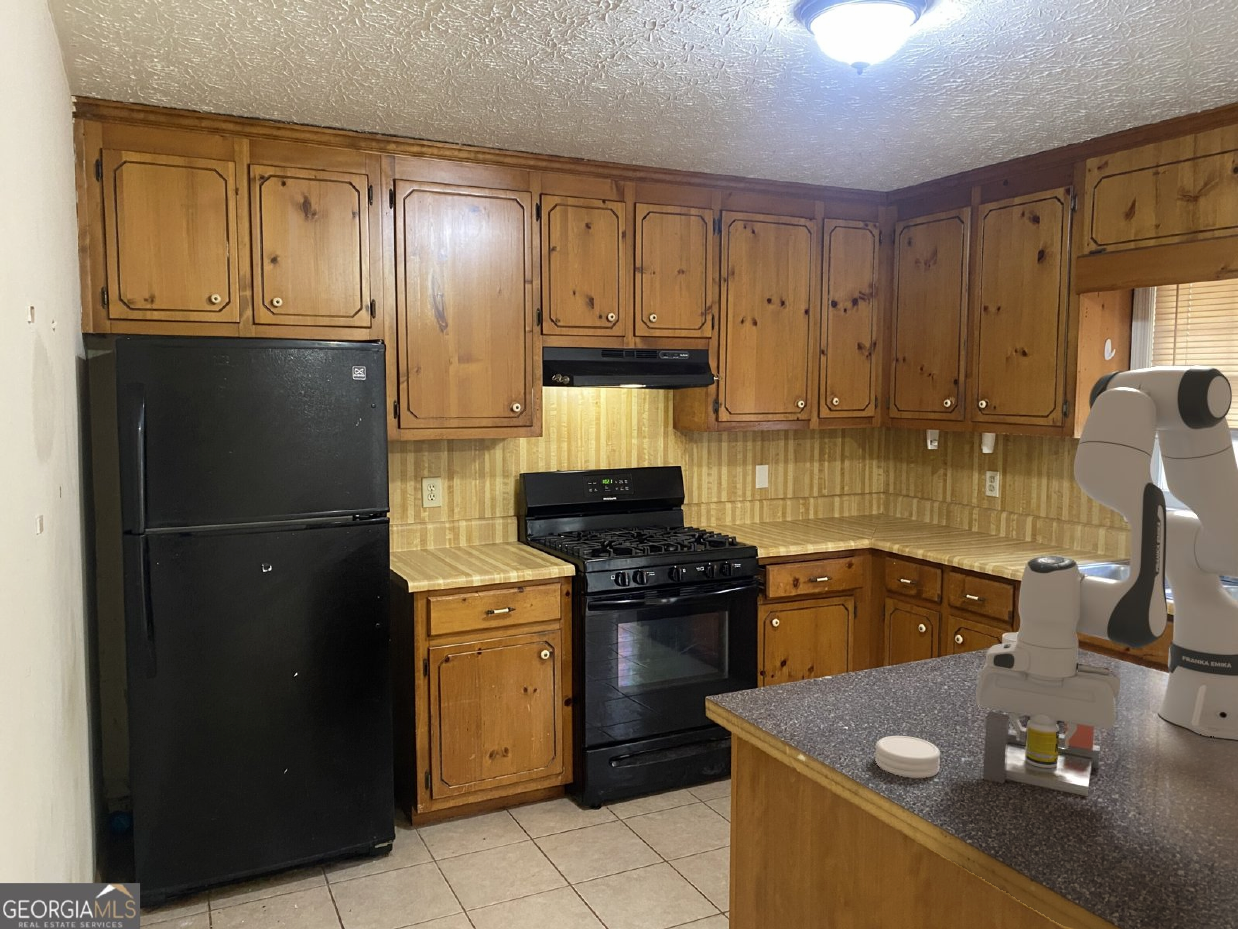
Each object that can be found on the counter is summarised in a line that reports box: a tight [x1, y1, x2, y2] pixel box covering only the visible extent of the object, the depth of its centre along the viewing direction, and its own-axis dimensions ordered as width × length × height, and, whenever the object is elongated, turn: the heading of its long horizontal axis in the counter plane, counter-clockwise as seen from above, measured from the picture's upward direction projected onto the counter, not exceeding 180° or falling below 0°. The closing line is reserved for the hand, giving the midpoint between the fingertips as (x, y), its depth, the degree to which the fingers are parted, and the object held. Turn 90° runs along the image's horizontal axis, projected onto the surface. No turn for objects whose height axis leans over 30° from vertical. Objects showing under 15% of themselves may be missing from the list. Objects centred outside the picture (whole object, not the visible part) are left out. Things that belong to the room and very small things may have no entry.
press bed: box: [982, 711, 1101, 797], centre depth 145 cm, size 16×17×10 cm
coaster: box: [874, 735, 941, 779], centre depth 146 cm, size 10×10×4 cm
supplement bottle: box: [1025, 715, 1060, 768], centre depth 144 cm, size 5×5×8 cm
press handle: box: [1065, 722, 1095, 750], centre depth 148 cm, size 4×4×5 cm
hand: (1041, 743), depth 144 cm, fingers closed on supplement bottle, 5 cm apart
